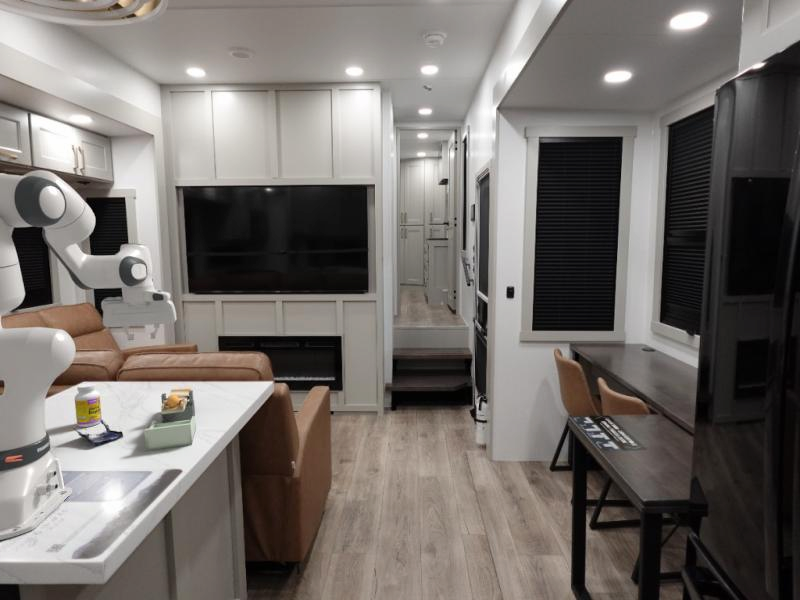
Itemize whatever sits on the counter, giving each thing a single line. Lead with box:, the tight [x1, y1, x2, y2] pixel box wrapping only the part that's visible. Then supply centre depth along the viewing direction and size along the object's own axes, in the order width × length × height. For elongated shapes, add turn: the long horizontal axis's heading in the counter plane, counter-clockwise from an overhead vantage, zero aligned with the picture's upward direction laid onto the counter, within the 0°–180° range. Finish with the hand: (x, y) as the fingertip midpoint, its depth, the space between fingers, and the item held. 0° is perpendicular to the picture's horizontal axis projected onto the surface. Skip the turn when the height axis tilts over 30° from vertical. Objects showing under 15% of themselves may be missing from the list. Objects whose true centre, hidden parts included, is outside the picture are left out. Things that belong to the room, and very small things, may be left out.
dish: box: [143, 415, 197, 452], centre depth 135 cm, size 13×12×6 cm
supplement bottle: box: [74, 382, 103, 428], centre depth 148 cm, size 7×7×13 cm
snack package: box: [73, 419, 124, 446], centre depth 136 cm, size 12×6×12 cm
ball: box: [167, 396, 180, 407], centre depth 141 cm, size 4×4×4 cm
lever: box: [160, 385, 192, 415], centre depth 150 cm, size 24×7×5 cm, turn 19°
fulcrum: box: [161, 389, 196, 423], centre depth 150 cm, size 6×9×9 cm, turn 109°
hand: (142, 339), depth 146 cm, fingers open, 5 cm apart
